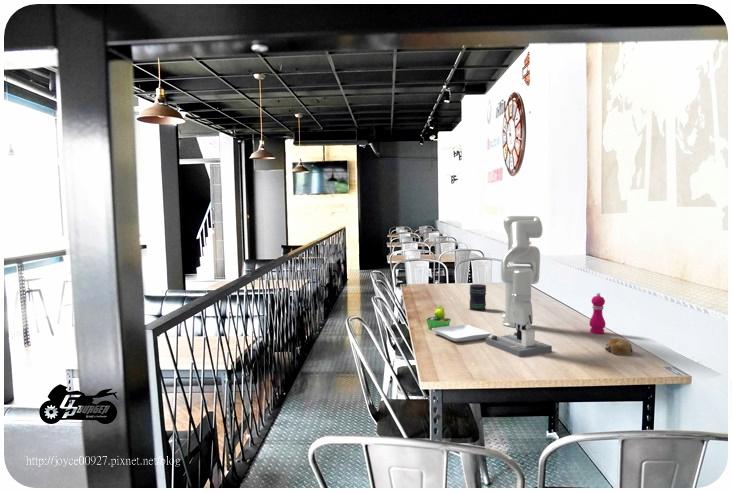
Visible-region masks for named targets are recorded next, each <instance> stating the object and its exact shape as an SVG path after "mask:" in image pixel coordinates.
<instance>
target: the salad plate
mask: <svg viewBox="0 0 732 492" xmlns="http://www.w3.org/2000/svg"><path fill="white" fill-rule="evenodd" d="M431 330H432V332H434V334H436V335H439V336H441V337H444V338H446V339H448V340H451V341H453V342H456V343H461V342H469V341H477V340H482V339H484V338H485V339H486V338H489V337H490V336H492V332H489V331H487V330H484V329H482V328H478V327H475V326H472V325H468V324H457V325H456V324H455V325H449V326H446V327H439V328H432V329H431Z"/></svg>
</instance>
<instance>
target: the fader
mask: <svg viewBox="0 0 732 492" xmlns="http://www.w3.org/2000/svg"><path fill="white" fill-rule="evenodd" d="M521 332H522V344H523V345H526V346H533V345H535V341H536V340H535V338H536V330H535V329H532V328H527V329H526V330H521Z"/></svg>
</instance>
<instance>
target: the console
mask: <svg viewBox="0 0 732 492" xmlns="http://www.w3.org/2000/svg"><path fill="white" fill-rule="evenodd" d="M485 344H486V345H488V346H491V347H494V348H495V349H498V350H501V351H503V352H506V353H509V354H511V355H512V356H513V355H514V356H515V357H518V358H519V357H520V358H521V357H524V356H525V357H526V356H532V355H539V354H543V353H551V352H552V350H553V345H551V344H550V345H549V344H547V343H543V342H541V341H538V340H535V345H533V346H526V345H523V344H522V340H519V339H517V331H515V332H513V334H511V333H510V334H508V335H501V336H500V335H495V334H493V335H492V334H491V337H486V338H485Z"/></svg>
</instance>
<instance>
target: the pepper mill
mask: <svg viewBox="0 0 732 492" xmlns="http://www.w3.org/2000/svg"><path fill="white" fill-rule="evenodd" d="M605 303H606V299H605V298H604V297H603V296H601V293H599V292H596V294H595V296H592V298H591V304H592V310H593V311H592V312H593V313H592V316H591V318H590V320H589V324H588V325H589V326H590V329H589V332H590V333H591V334H594V335H595V334H596V335H604V334H605V329H604V328H605V327H606V320H605V319H604V315H603V310H604V305H605Z"/></svg>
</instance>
